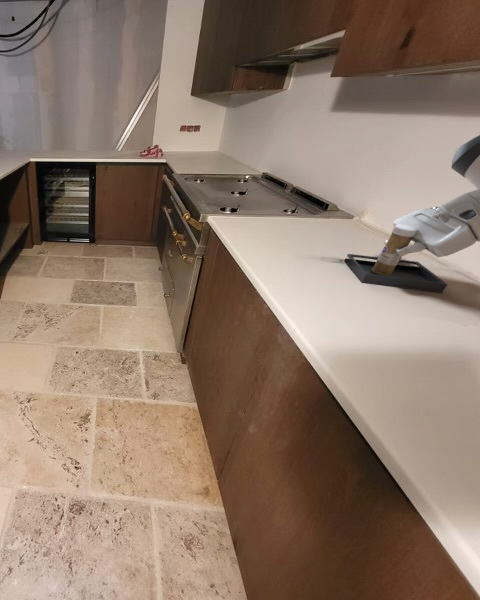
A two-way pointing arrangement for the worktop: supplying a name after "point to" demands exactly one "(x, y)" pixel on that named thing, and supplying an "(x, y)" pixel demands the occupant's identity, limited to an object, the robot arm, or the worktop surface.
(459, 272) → the worktop surface
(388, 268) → the sprinkles bottle
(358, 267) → the tray
